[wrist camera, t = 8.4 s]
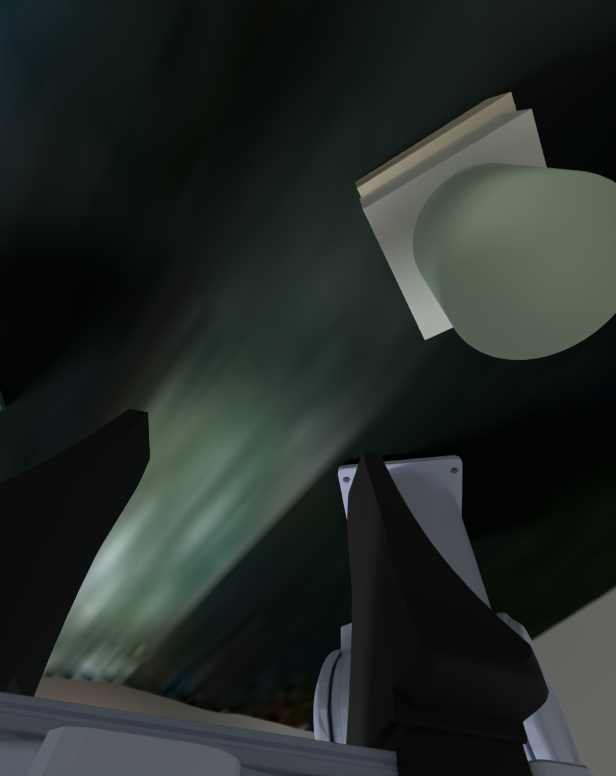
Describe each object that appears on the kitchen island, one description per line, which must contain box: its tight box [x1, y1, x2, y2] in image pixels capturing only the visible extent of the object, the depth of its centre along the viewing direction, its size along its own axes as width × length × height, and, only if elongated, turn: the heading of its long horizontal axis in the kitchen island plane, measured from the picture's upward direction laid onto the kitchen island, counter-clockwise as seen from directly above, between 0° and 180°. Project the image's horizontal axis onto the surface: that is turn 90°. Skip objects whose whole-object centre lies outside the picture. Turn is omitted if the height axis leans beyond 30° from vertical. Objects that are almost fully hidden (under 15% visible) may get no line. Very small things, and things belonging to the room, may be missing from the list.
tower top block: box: [360, 109, 547, 340], centre depth 15 cm, size 6×6×3 cm
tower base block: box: [355, 92, 516, 197], centre depth 17 cm, size 6×6×3 cm
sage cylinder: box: [413, 163, 616, 360], centre depth 12 cm, size 4×4×5 cm
